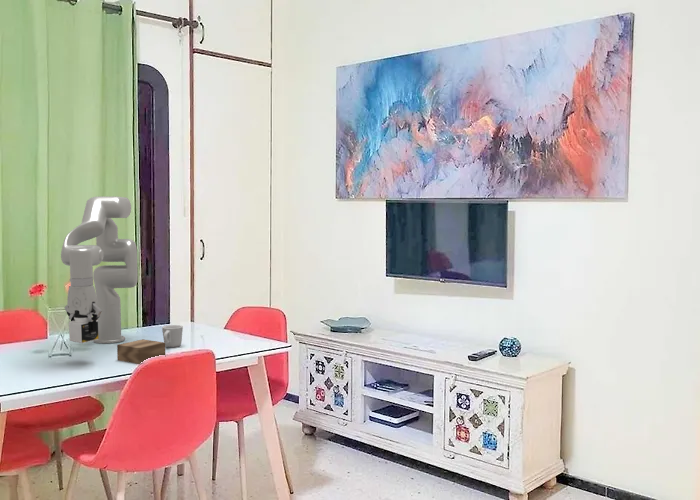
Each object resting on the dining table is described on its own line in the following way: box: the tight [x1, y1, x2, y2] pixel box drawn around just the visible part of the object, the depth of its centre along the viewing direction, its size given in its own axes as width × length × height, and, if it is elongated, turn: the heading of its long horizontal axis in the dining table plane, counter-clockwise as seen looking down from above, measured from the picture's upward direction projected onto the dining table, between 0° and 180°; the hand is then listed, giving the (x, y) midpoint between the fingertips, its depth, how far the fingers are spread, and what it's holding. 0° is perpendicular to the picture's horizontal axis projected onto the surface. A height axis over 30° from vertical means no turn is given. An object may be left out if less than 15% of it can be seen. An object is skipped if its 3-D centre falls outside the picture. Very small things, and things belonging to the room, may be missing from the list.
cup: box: [161, 324, 184, 348], centre depth 278 cm, size 11×8×8 cm
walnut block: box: [116, 339, 166, 365], centre depth 257 cm, size 12×12×6 cm
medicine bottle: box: [68, 310, 99, 344], centre depth 250 cm, size 7×7×12 cm
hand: (83, 330), depth 250 cm, fingers closed on medicine bottle, 7 cm apart
